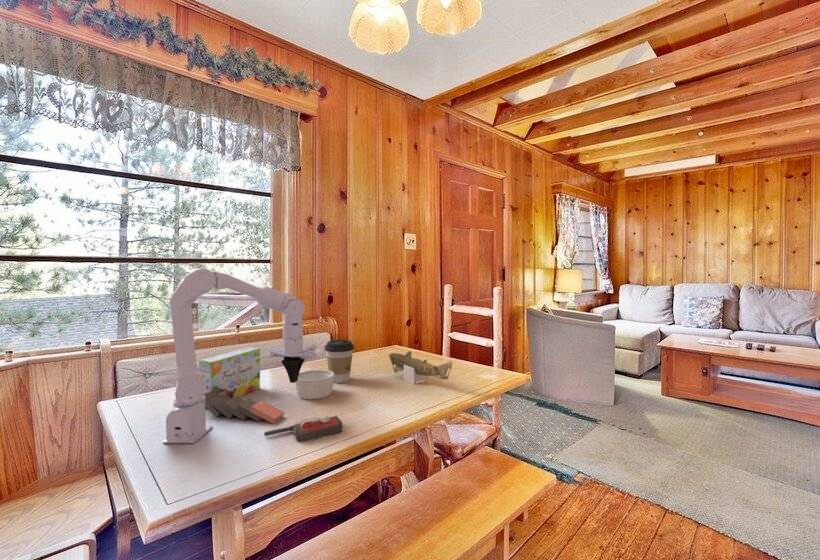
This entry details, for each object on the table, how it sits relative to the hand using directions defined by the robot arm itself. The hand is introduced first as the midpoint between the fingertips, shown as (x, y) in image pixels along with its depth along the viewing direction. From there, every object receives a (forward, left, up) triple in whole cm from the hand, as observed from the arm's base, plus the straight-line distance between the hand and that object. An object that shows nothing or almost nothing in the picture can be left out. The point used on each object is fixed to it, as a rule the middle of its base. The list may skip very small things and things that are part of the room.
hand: (293, 381), depth 114 cm
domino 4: (-4, +7, -9) cm, 12 cm away
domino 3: (-3, +12, -9) cm, 15 cm away
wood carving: (+29, -39, -10) cm, 49 cm away
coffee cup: (+31, -8, -10) cm, 34 cm away
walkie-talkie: (-14, -7, -10) cm, 19 cm away
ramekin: (+16, -3, -10) cm, 19 cm away
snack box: (+14, +25, -10) cm, 30 cm away
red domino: (-5, +3, -9) cm, 11 cm away
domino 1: (-1, +21, -9) cm, 22 cm away
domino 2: (-2, +16, -9) cm, 19 cm away
